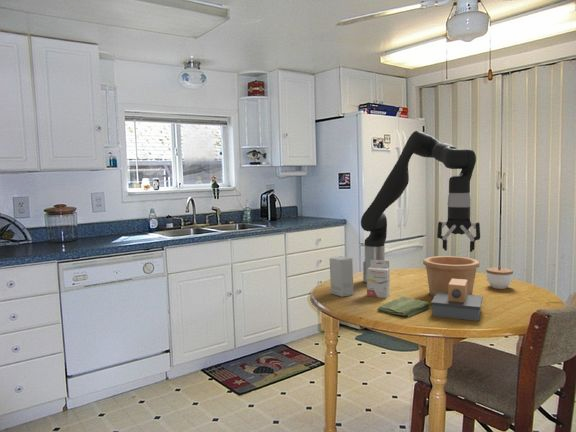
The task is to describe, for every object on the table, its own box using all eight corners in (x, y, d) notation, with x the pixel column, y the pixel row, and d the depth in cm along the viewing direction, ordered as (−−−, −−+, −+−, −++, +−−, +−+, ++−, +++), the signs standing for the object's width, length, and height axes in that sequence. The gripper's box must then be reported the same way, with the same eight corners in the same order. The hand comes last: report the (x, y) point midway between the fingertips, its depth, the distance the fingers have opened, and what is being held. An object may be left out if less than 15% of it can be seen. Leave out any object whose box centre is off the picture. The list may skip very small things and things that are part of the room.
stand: (430, 316, 161) (431, 302, 161) (437, 304, 175) (437, 291, 175) (480, 321, 154) (480, 307, 154) (482, 308, 169) (482, 295, 168)
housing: (451, 294, 171) (451, 278, 170) (467, 295, 168) (467, 279, 168) (447, 301, 161) (447, 285, 160) (464, 303, 158) (464, 286, 158)
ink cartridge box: (366, 296, 189) (366, 261, 188) (369, 293, 193) (369, 259, 192) (387, 298, 185) (387, 262, 184) (389, 295, 190) (390, 260, 189)
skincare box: (353, 295, 191) (353, 258, 190) (341, 297, 188) (341, 260, 187) (341, 291, 198) (341, 255, 197) (329, 293, 195) (329, 257, 194)
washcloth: (375, 312, 168) (375, 303, 168) (402, 302, 180) (402, 294, 180) (406, 319, 159) (406, 310, 159) (432, 309, 171) (433, 300, 171)
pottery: (484, 302, 177) (485, 266, 175) (425, 300, 181) (425, 265, 180) (473, 289, 198) (473, 256, 197) (420, 287, 202) (420, 255, 201)
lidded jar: (486, 289, 198) (486, 267, 197) (485, 283, 207) (485, 263, 207) (513, 291, 194) (514, 269, 193) (511, 285, 203) (512, 264, 203)
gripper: (481, 205, 162) (480, 250, 163) (439, 204, 168) (438, 248, 169) (480, 206, 155) (479, 253, 156) (436, 206, 161) (435, 251, 163)
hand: (458, 250), depth 163 cm, fingers open, 8 cm apart
